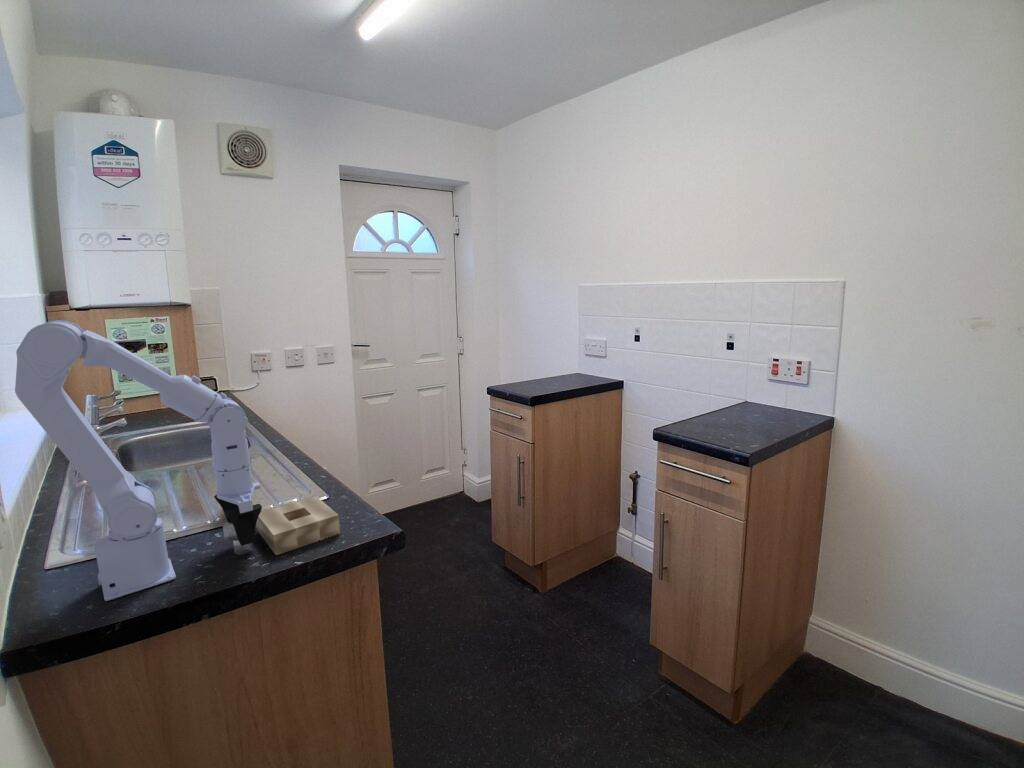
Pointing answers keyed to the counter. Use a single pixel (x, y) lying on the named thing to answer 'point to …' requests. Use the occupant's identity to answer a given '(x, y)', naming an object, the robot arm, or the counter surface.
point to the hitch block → (297, 524)
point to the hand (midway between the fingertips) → (241, 535)
